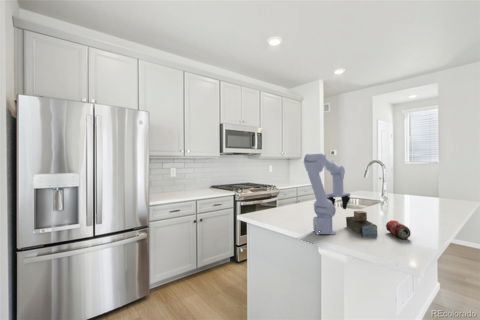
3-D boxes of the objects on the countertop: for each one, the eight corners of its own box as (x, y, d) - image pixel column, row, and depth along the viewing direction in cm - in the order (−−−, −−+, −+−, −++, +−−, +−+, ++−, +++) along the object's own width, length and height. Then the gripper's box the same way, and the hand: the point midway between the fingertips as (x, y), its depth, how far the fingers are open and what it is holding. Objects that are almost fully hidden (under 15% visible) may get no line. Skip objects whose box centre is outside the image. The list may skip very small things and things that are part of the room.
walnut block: (358, 221, 125) (358, 212, 125) (354, 219, 129) (353, 211, 129) (366, 220, 125) (366, 212, 125) (361, 218, 129) (361, 210, 129)
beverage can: (397, 240, 112) (396, 226, 112) (385, 232, 124) (385, 220, 124) (413, 240, 111) (413, 226, 111) (400, 232, 123) (400, 220, 123)
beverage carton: (362, 237, 118) (361, 224, 118) (345, 227, 137) (345, 215, 137) (378, 237, 118) (377, 224, 118) (359, 226, 137) (358, 215, 137)
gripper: (330, 187, 132) (331, 211, 132) (353, 186, 135) (354, 209, 135) (323, 186, 139) (324, 209, 139) (345, 185, 142) (346, 207, 142)
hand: (338, 209), depth 137 cm, fingers open, 7 cm apart
